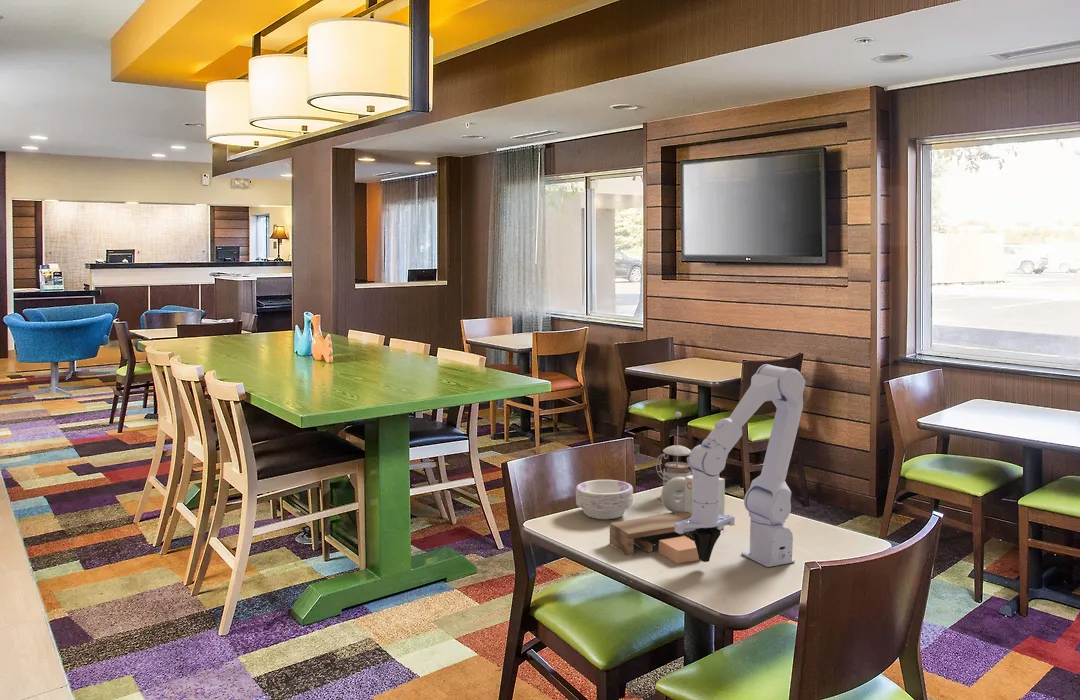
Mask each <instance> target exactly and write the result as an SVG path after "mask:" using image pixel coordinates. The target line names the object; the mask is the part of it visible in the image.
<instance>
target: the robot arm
mask: <svg viewBox="0 0 1080 700" xmlns="http://www.w3.org/2000/svg"><path fill="white" fill-rule="evenodd" d="M805 387H806V380H805V378H804V377H803V375H802V374H801V372H800V371H799V370H798V369H796V368H792V367H791V368H788V367H781V366H776V365H772V364H768V363H765V364H761V366H760V367H758V369H757V370H756V372H755V373H754V374H753V375H752V376H751V380H750V386H749V387H748V389H747V390H746V391H745V393H744V394H743V396H742V397H741V399H740V401H739V402H738V403H737V405H736V406H735V408H734V410H733V411H732V413H731V414H730V416H728V417H726V418H721V419H719V420H717V421H716V422H715V424H714V427H713V428H712V430H711V431H710V432H709V434H708V435H707V436H706V438H705V439H703V440H702V443H701V444H698V445H696V446H694V447H693V448H692V449H690V450H691V452H690V455H688V457H686V461H687V462H686V463H687V464H688V465H689V466H690V467H689V468H690V470H691V475H693V483H692V516H691V518H689V519H687V520H684V521H681V522H677V523H675V532H677V533H679V534H684V533H683V532H688V531H689V532H690V534H691V535H692V537H691V538H692V540H693V541H694V542H695V545H696V548H697V552H698V556H699V560H698V561H701V562H703V563H708V562H710V559H711V556H712V553H713V550H714V547H715V545H716V543H717V540H718V539H719V538H720V536H721V535H722V534H721V530H719V529H717V527H719V526H724V527H725V526H731V527H732V526H733V527H734V526H735V518H736V517H735V516H733V515H731V514H724V515H718V509H719V478H720V474H721V473H722V471H723V470H725V467H726V463H727V459H728V456H729V453H730V452H731V450H732V449H733V447H735V445H736V444H737V443H738V442H739V440H740V439H741V438H742V436H743V426H744V425H745V424H746V423H747V422H748V421H749V419H750V418H751V417H753V415H754V414H755V413H756V412H757V411H758V410H759V408H760V407H761V406H762V405H763V404H764V403H765V402H772V403H773V405H774V406H775V408H776V409H775V410H776V411H775V415H774V419H773V423H772V426H771V431H770V436H769V439H768V443H767V447H766V452H765V455H764V460H763V464H762V468H761V471H760V472H761V473H760V475H759V476H757V477H755V478H754V479H752V481H751V483H750V486H749V488H748V490H747V491H746V493H745V495H744V499H743V504H744V508H745V509H746V511H748V517H749V518H750V522H749V523H750V526H749V528H750V529H749V550H745V551H742V552H741V555H742V556H744V557H746V558H749V560H752V561H754V562H756V563H758V564H759V565H763V566H765V567H767V568H769V567H775V566H781V565H786V564H791V563H795V562H796V560H795V559H794V558H793V546H794V545H793V542H794V541H793V540H794V536H793V533H792V531H791V529H790V528H788V527H787V526H786V525H785V523H786V520H787V519H788V518H789V516H790V514H791V509H792V504H791V497H792V491H791V489H790V487H789V485H788V484H787V482H786V478H787V475H788V470H789V466H790V461H791V458H792V455H793V449H794V445H795V441H796V437H797V433H798V430H799V425H800V422H801V417H802V413H803V410H804V397H803V395H804V391H805Z"/></svg>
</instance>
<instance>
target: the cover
mask: <svg viewBox="0 0 1080 700" xmlns="http://www.w3.org/2000/svg"><path fill="white" fill-rule="evenodd" d="M689 538H690V537H689ZM689 538H687V537H685V536H681V537H675V538H669V539H662V540H659V544H658V553H659V554H660V553H661V555H662V556H664V557H666V558H667V557H668V558H667V559H669V560H671V561H672V560H673V562H674V563H676V564H678V565H679V564H685V563H689V562H690V563H691V562H696V561H700V560H699V556H698V552H697V548H696V545H695V542H694V540H693V539H692V538H690V539H689Z"/></svg>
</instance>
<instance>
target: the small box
mask: <svg viewBox="0 0 1080 700" xmlns="http://www.w3.org/2000/svg"><path fill="white" fill-rule="evenodd" d="M692 483H693V475H692V474H691V475H690V476H686V477H685V512H689V513H691V514H692ZM725 483H726V479H725V478H722V477H719V509H718V515H725V504H726V503H725V498H726V497H725V493H726V492H725V491H726V488H725V486H726V484H725ZM717 529H719V530H720V531H721V530H723V529H725V526H719V527H717Z"/></svg>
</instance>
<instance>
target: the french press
mask: <svg viewBox="0 0 1080 700" xmlns="http://www.w3.org/2000/svg"><path fill="white" fill-rule="evenodd" d="M674 417H677V418H679V417H682V413H681V412H680V411H675V413H674ZM676 430H677V433H676V434H677V437H676V439H677V440H676V445H670V446H667V447H666V448H664V449H663V450H662V452H663V453H662V454H660V455H659V456H657V459H656V462H655V469H656V472H657V475H658V476H659V477H660V479H662V489H663V488H664V485H665V484H666V483H667V482H668V481H669V480H671V479H672V478H675V477H686V476H690V475H692V470H691V468H690V466H689V465H688V462H682V461H681V462H680V461H678V459H679V457H682V456H683V457H684V456H689V455H690V452H691V450H692V449H689V448H688V447H686V446H683V445H679V427H677V429H676ZM666 455H667V456H666ZM669 456H676V461H669V462H665V464H664V467H665V468H663V470H662V469H661V468H662V467H661V464H659V470H660V473H661V474H660V473H659V471H658V462H662V458H664V460H666V459H668V458H669ZM658 460H659V461H658ZM689 468H690V469H689ZM662 471H663V472H662ZM661 475H662V476H661ZM683 497H684V491H683V490H682V489H679V490H677V491H676V492H675V493H674V499H675V500H677V501H679V500H681V499H682V498H683ZM660 498H661V499H662V497H661V495H659V499H660ZM661 499H660V500H661Z"/></svg>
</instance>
